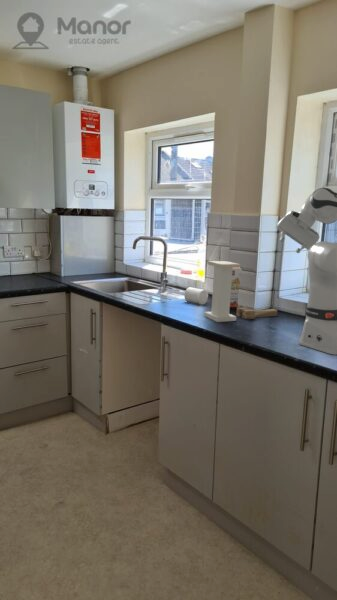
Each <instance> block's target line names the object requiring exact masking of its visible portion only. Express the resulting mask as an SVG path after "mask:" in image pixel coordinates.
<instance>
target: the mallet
mask: <svg viewBox="0 0 337 600" xmlns="http://www.w3.org/2000/svg"><path fill="white" fill-rule="evenodd" d="M235 316H236V317H239V318H240V319H241V318H242V319H244V320H252V319H253V320H254V319H255V318H263V317H277V316H278V310H277V309H276V308H265V309H252V308H249V307H247V306H246V307H236V315H235Z"/></svg>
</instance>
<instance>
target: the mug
mask: <svg viewBox="0 0 337 600" xmlns="http://www.w3.org/2000/svg"><path fill="white" fill-rule="evenodd" d="M208 297H209V294H208V292H207V290H206V289H202V288H198V287H192V286H191V287H190V286H189V287H187V288H186V290H185V291H184V300H185V301H186V302H188V303H193V304H199V305H205V304H206V302H207V301H208Z"/></svg>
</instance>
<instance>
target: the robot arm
mask: <svg viewBox="0 0 337 600" xmlns="http://www.w3.org/2000/svg"><path fill="white" fill-rule="evenodd" d="M336 221H337V192H335V191H334V190H332V189H331V188H328V187H320V188H317V189H316V190H314V191H313V192H312V193H311V194H310V195H309V196H307V198H306V199H305V201H304V203H303V204H302V206H301V208H300V210H299V211H294V210H289V211H287V213H286V214H285V215H284V216H283V217H282V218H281V219H280V220H279V221H278V222H277V224H276V229H277V230H278V231H279V232H280V238H279V239H278V240H279V241H280V242H281V243H283V242H284V240H285V239H286V238H285V237H284V236H287V237H289V239H291V240H293V241H294V242H296V243H297V244H299V245H300V247H298V248H296V250H295V252H296V253H297V254H299V253H301V251H302V250H304V249H306V250H308V251H307V260H308V274H309V289H308V290H309V291H308V299H307V304H306V308H305V315H306V316H305V320H304V323H303V327H302V332H301V335H300V338H299V340H298V345H300V346H303V347H307V348H310V349H312V350H317V351H320V352H322V353H327V354H330V355H335V356H336V355H337V242H329V241H319V239H320V234H319V232H317V231H316V230H314V229H313V227H314V224H315V223H316V222H320V223H322V224H326V225H329V224H330V225H331V224H334V223H335V222H336Z"/></svg>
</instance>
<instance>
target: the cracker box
mask: <svg viewBox="0 0 337 600" xmlns="http://www.w3.org/2000/svg"><path fill="white" fill-rule="evenodd" d="M241 273H242V269H241V268H233V269H232V283H231V296H230V308H238V307H237V306H238V293H239V285H240V282H241Z"/></svg>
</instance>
